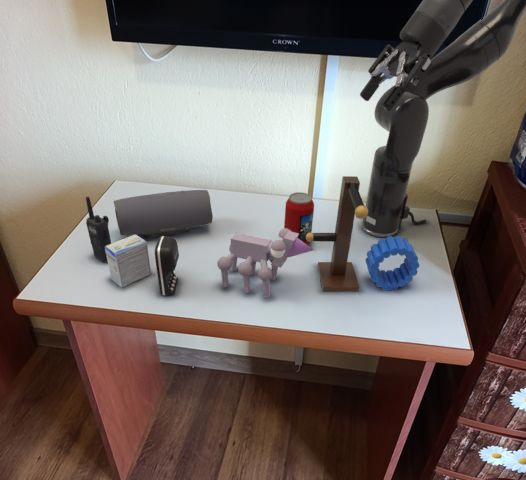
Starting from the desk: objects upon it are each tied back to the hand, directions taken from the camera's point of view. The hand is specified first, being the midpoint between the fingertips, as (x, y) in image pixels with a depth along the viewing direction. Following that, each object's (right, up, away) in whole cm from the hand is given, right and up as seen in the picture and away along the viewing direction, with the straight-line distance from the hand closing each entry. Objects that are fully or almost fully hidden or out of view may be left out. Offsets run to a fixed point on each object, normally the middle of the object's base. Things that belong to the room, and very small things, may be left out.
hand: (373, 103), depth 98 cm
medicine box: (-51, -32, +15) cm, 62 cm away
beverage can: (-13, -21, +28) cm, 38 cm away
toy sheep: (-21, -34, +14) cm, 42 cm away
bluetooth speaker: (-46, -18, +30) cm, 58 cm away
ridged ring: (+6, -33, +16) cm, 37 cm away
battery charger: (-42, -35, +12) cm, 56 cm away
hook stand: (-7, -34, +14) cm, 38 cm away
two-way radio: (-59, -26, +21) cm, 67 cm away
